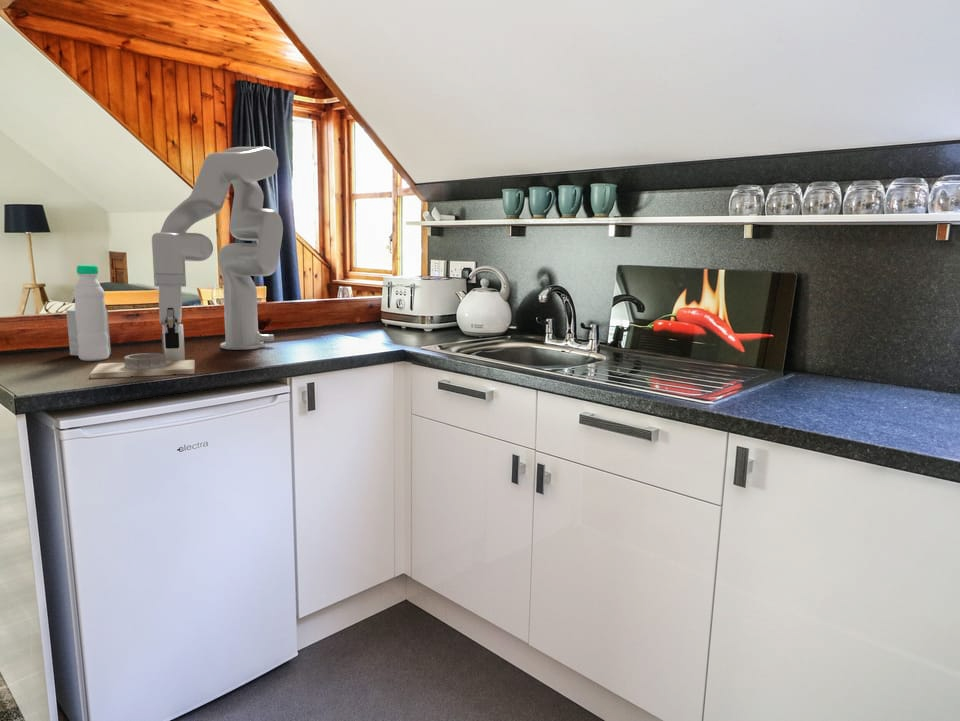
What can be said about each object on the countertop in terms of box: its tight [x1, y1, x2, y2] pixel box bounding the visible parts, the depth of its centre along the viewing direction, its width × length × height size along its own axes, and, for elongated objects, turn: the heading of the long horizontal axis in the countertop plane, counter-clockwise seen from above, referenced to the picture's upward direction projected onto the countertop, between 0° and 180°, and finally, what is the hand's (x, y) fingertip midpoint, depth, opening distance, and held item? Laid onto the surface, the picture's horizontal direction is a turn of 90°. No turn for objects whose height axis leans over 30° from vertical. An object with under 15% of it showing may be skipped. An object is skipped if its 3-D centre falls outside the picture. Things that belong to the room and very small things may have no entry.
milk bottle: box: [73, 264, 110, 362], centre depth 171 cm, size 7×7×25 cm
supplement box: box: [65, 308, 112, 357], centre depth 178 cm, size 7×7×13 cm
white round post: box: [161, 323, 186, 361], centre depth 170 cm, size 5×5×10 cm
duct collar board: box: [89, 352, 196, 379], centre depth 159 cm, size 22×13×4 cm, turn 113°
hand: (173, 345), depth 170 cm, fingers open, 9 cm apart
